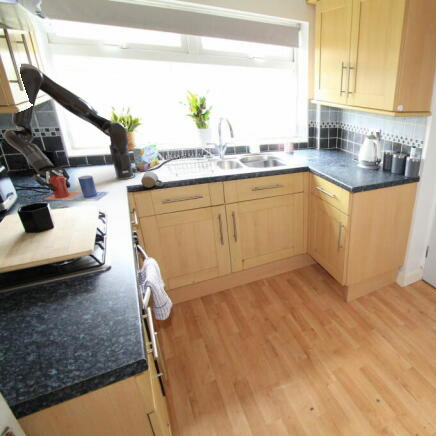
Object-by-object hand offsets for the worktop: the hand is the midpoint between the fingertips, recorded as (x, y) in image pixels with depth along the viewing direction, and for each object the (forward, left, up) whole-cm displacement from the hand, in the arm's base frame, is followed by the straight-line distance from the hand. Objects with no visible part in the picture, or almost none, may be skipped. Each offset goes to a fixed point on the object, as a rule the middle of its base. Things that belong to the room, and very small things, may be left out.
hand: (62, 188), depth 161 cm
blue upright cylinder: (-1, +12, -4) cm, 12 cm away
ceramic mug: (-18, +37, -5) cm, 41 cm away
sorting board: (-1, +5, -5) cm, 7 cm away
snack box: (-61, +20, -5) cm, 64 cm away
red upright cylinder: (-1, -1, -4) cm, 5 cm away
